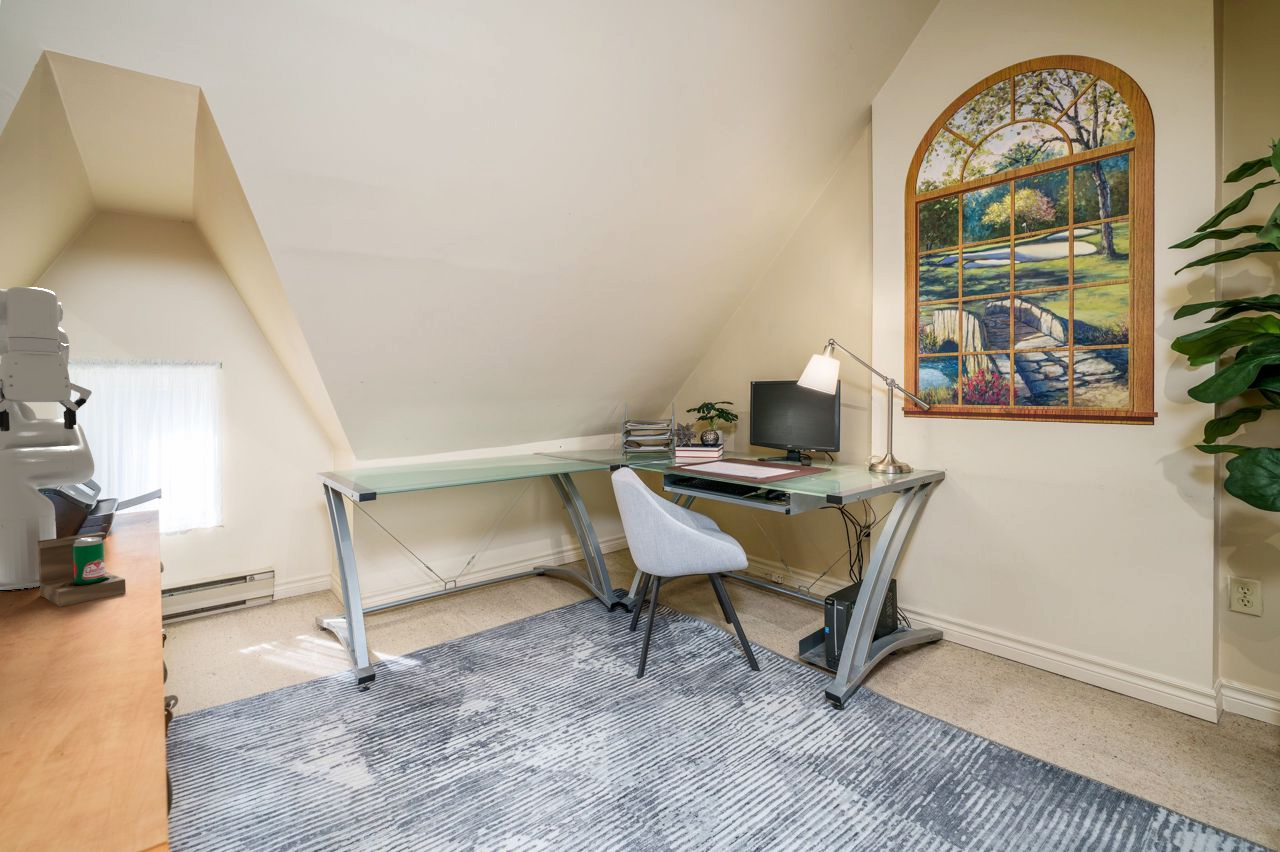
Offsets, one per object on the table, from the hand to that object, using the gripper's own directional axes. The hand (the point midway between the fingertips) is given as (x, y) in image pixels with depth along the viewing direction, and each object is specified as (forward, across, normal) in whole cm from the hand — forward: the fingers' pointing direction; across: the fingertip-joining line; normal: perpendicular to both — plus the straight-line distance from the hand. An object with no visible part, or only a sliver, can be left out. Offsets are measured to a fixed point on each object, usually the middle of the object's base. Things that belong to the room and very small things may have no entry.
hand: (38, 430), depth 124 cm
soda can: (+36, -6, +3) cm, 37 cm away
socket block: (+36, -6, +1) cm, 37 cm away
